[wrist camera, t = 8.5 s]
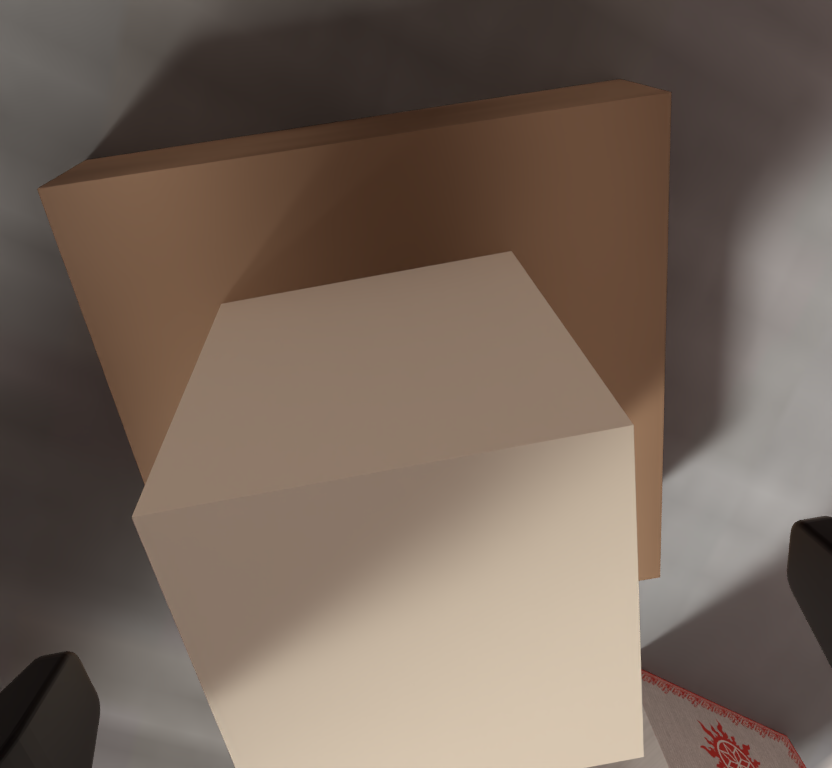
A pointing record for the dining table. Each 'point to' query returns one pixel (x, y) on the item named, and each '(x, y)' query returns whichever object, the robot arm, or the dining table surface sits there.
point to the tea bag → (702, 734)
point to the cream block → (403, 529)
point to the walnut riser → (385, 237)
